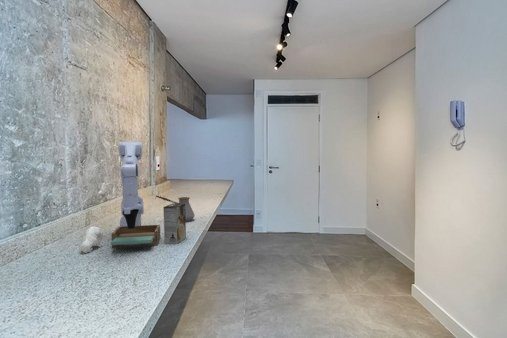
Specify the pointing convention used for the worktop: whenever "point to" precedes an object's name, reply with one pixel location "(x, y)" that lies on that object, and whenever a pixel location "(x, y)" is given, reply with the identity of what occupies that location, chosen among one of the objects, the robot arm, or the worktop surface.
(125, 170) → the robot arm
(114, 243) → the panel
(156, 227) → the brown wooden open box
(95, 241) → the white rounded lump
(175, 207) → the coffee box
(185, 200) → the coffee pot
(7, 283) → the worktop surface
